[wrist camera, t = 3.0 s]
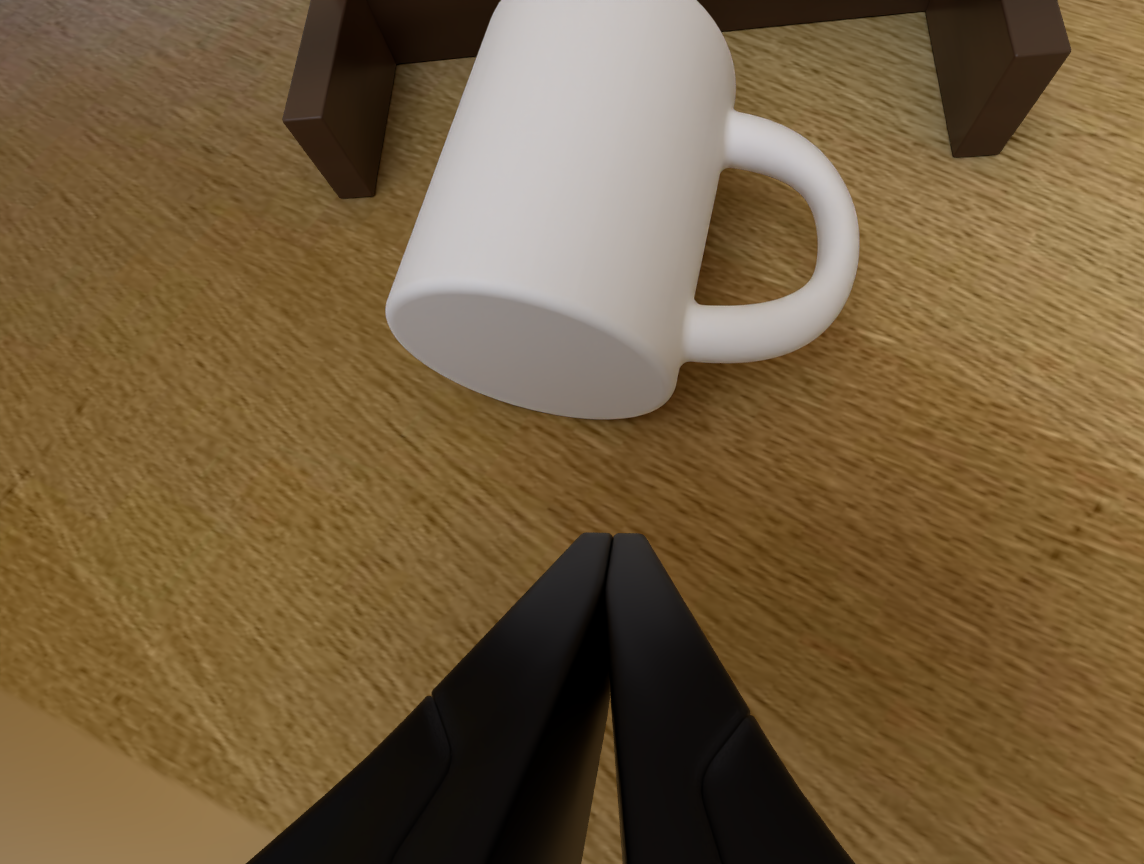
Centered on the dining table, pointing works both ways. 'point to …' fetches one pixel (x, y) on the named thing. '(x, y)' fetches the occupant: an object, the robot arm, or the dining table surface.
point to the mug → (602, 213)
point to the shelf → (952, 3)
